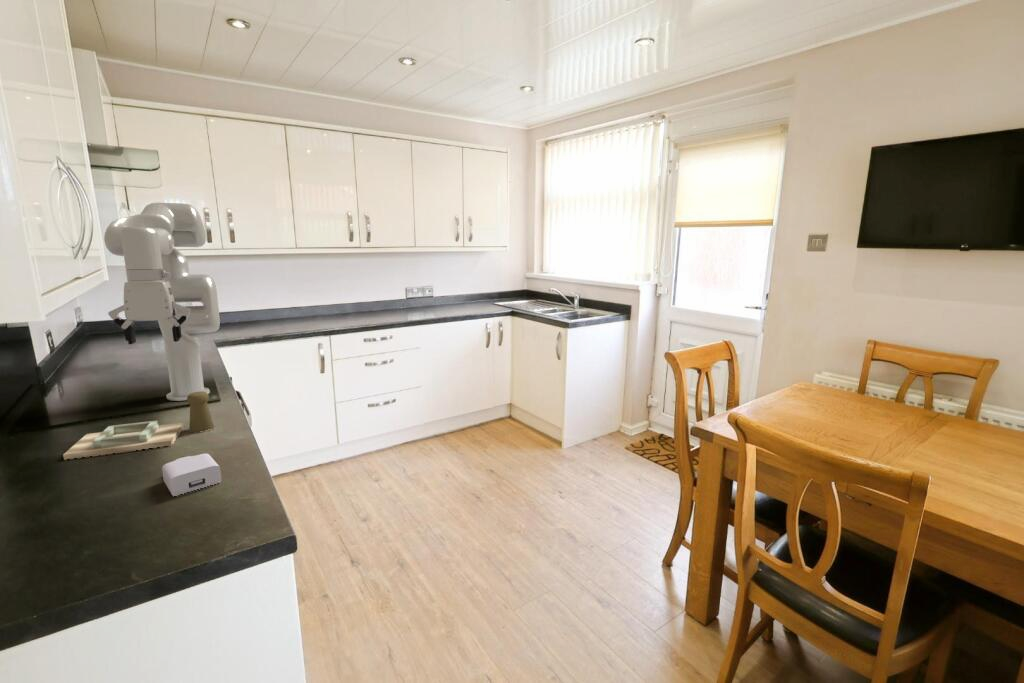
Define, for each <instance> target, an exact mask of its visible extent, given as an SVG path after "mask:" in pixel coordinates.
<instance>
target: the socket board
mask: <svg viewBox="0 0 1024 683" xmlns="http://www.w3.org/2000/svg"><path fill="white" fill-rule="evenodd" d="M183 427H184V422H179V423H178V422H177V423H176V422H175V423H167V424H159V421H158V420H150V421H141V422H133V423H124V424H116V425H115V424H114V425H108V426H107V427H105V429H104V430H103V431H99V432H90V433H86V434H85V435H83V437H82V438H80V439H79V440H78V441H77V442H75V444H73V445H72V446H71V447H70V448H69V449H68V450H67V451H66V452H65V453H63V454H62V455H63V460H64V461H68V460H67V459H70V460H75V459H74V458H77V459H81V458H82V457H85V458H91V457H90V456H92V457H98V456H99V455H100V456H106V454H107V455H113V453H115V454H122V453H129V452H135V451H136V450H138V451H143V450H142V449H145V450H150V449H149V448H153V449H158V448H157V447H160V448H165V447H164V446H168V447H173V445H174V443H175V442H174V441H176V440H177V439H178V437H179V435H180V434H181V432H182V431H183V429H184V428H185V427H184V428H183ZM181 430H182V431H181ZM176 438H177V439H176ZM172 444H173V445H172ZM82 459H83V458H82Z"/></svg>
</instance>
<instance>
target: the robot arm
mask: <svg viewBox="0 0 1024 683" xmlns="http://www.w3.org/2000/svg"><path fill="white" fill-rule="evenodd" d="M103 240H104V245H105V247H106V249H107V250H108V252H109V253H111V254H112V255H115V256H119V257H123V259H124V261H123V262H124V267H125V273H126V280H127V281H126V282H124V284H123V304H122V305H120V306H119V307H117V308H114V309H113V310H110V311H108V313H107V314H108V316H109V318H110V319H112V321H113V322H114V323H115V324H116V325H118V326H119V327H121V329H123V331H124V337H125V341H126V342H127V343H128V345H133V344H135V343H136V342H137V340H136V331H135V327H133V325H134V324H135V322H149V321H151V322H153V321H157V322H158V325H159V329H160V332H161V335H162V338H163V343H164V350H165V354H166V355H165V356H166V361H167V363H166V364H167V371H168V377H169V386H170V392H169V393H167V394H166V399H167V400H169V401H173V402H174V401H176V402H177V401H178V402H181V401H182V402H183V401H187V397H188V395H189V394H191V393H193V392H199V391H203V392H206V393H207V394H208V395H209V394H210V393H211V390H210V389H209V388H208V387H205V386H204V377H203V369H202V361H201V355H200V354H201V353H200V346H199V344H198V342H197V341H196V340H195V339H194V338H193V337H191V336H190V335H192V334H193V335H194V334H207V333H214V332H217V331H218V330H219V329H220V326H221V325H220V324H221V318H220V311H219V310H220V309H219V301H218V292H217V285H216V282H215V280H214V278H213V277H212V276H211V275H208V274H202V273H201V274H198V273H197V274H196V273H195V274H190V271H189V269H190V268H189V261H188V259H187V257H186V256H185V255H184V254H183V253H182V252H181V251H180V250H178V249H177V248H199V247H203V246H204V245H205V243H206V241H207V235H206V229H205V226H204V222H203V219H202V218H201V216H200V213H199V211H198V209H197V208H195V207H194V206H193V205H191V204H188V203H174V202H152V203H150V204H146V205H145V207H144V208H143V209H142V211H141V212H140V213H139V214H134V215H130V216H126V217H122V218H118V219H115V220H113V221H111V222H110V223H109V225H108V226H107V228H106V229H105V232H104V239H103ZM179 303H201V304H202V305H185V306H184V305H181V304H179ZM122 312H123V313H124V316H125V320H124V319H123V318H121V317H120V316H119V314H120V313H122Z"/></svg>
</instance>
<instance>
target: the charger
mask: <svg viewBox="0 0 1024 683" xmlns="http://www.w3.org/2000/svg"><path fill="white" fill-rule="evenodd" d="M161 471H162V472H161V473H162V478H163V482H164V484H165V486H166V487H167V488H168V491H169V492H170V494H171V495H172V497H174V496H177V497H179V496H178V495H180V494H183V495H185V494H184V493H186V492H190V491H193V490H196V491H198V490H197V489H199V490H201V489H200V488H203V489H205V488H204V487H206V488H208V487H207V486H209V487H211V486H210V485H213V486H215V485H214V484H216V485H218V484H217V483H219V484H220V483H221V482H222V474H221V473H222V471H221V467H220V465H219V464H218V463H217V462H216V461H215V459H214V458H213V457H212V456H211V455H210V454H209V453H200V454H197V455H196V454H195V455H188V456H184V457H180V458H179V457H178V458H176V459H174V460H173V461H170V462H167V463H165V464H163V465H162V467H161ZM193 492H194V491H193ZM190 493H191V492H190ZM186 494H187V493H186ZM180 496H181V495H180Z"/></svg>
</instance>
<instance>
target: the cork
mask: <svg viewBox="0 0 1024 683" xmlns="http://www.w3.org/2000/svg"><path fill="white" fill-rule="evenodd" d="M209 397H210V396H209V394H207V393H206V392H203V391H199V392H193V393H191V394H189V395H188V397H187V400H186V401H187V403H188V405H189V428H188V429H189V430H188V431H189V432H190V431H191V432H190V433H192V432H199V433H201V432H200V431H205V430H208V429H211V428H213V427H214V428H215V425H214V422H213V418H212V414H211V411H210V408H209V405H208V401H209V399H210V398H209ZM214 428H213V429H214ZM211 430H212V429H211ZM208 431H209V430H208ZM205 432H206V431H205Z"/></svg>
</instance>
